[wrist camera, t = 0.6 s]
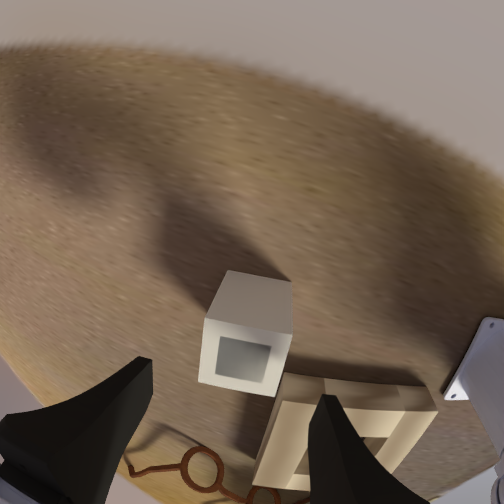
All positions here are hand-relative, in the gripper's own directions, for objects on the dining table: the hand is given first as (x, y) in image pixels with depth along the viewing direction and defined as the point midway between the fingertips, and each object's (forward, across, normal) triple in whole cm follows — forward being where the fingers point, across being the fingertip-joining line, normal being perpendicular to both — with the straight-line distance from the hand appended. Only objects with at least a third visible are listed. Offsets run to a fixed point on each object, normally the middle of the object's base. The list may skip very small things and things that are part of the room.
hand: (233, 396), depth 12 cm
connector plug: (+8, 0, 0) cm, 9 cm away
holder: (+8, -9, +11) cm, 17 cm away
